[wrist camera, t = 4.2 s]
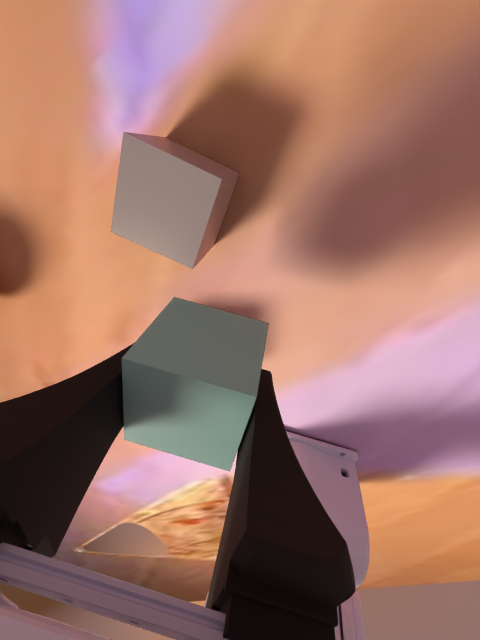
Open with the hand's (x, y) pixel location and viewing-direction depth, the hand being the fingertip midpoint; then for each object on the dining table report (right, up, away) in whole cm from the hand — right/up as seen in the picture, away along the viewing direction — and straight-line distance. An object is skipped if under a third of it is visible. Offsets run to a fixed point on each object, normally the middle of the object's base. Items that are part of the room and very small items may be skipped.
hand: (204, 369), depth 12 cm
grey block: (-1, +10, +4) cm, 11 cm away
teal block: (0, +1, +1) cm, 2 cm away
